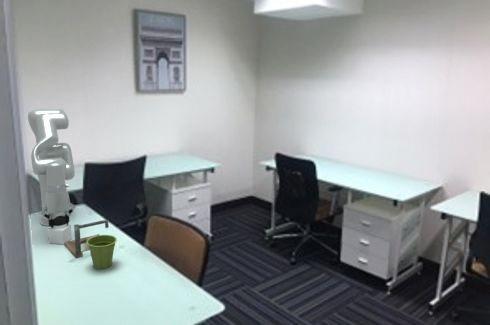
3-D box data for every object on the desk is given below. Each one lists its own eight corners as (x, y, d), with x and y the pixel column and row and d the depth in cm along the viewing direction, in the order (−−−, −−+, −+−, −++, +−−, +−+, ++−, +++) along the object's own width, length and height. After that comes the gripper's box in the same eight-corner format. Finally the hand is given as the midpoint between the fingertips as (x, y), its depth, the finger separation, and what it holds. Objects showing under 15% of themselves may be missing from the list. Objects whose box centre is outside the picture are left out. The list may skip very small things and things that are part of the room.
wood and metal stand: (76, 258, 173) (73, 226, 170) (64, 245, 185) (62, 215, 182) (112, 248, 183) (110, 219, 180) (98, 237, 195) (97, 208, 192)
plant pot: (108, 273, 161) (107, 247, 159) (82, 270, 164) (80, 244, 161) (123, 260, 173) (122, 236, 170) (98, 257, 175) (96, 233, 172)
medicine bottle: (71, 238, 193) (70, 214, 190) (63, 244, 186) (61, 220, 183) (57, 237, 194) (55, 213, 191) (49, 243, 187) (47, 219, 184)
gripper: (73, 183, 192) (75, 219, 196) (33, 189, 181) (37, 226, 185) (78, 187, 187) (81, 223, 191) (38, 193, 176) (41, 232, 180)
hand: (59, 224), depth 188 cm, fingers closed on medicine bottle, 6 cm apart
